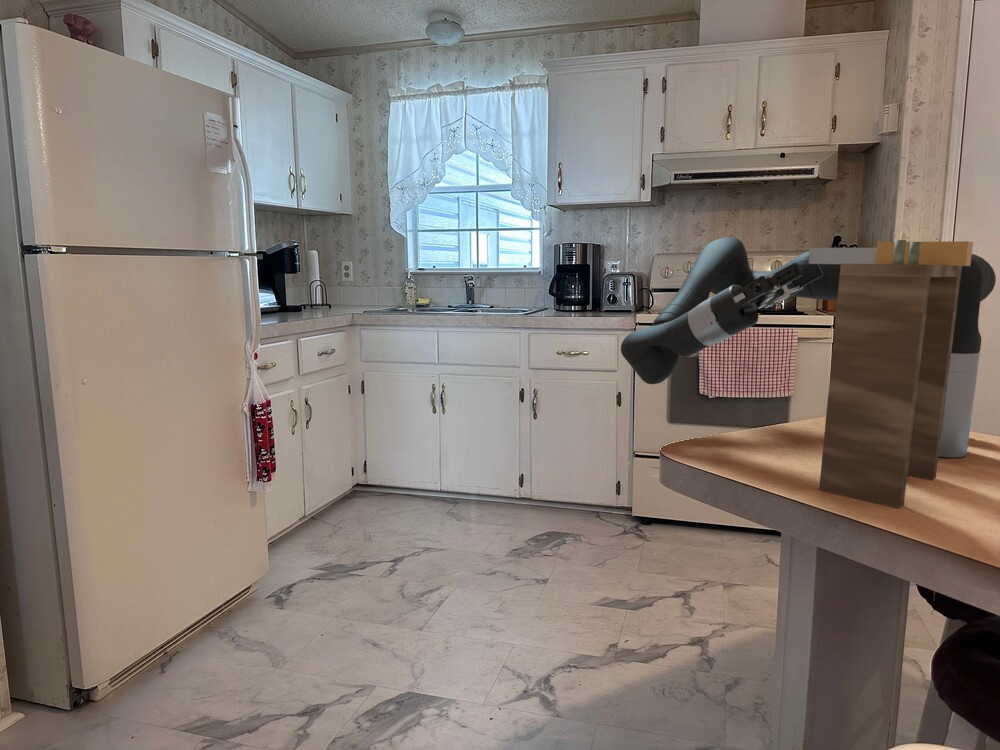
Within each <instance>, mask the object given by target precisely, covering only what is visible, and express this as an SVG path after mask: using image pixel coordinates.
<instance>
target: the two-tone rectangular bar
mask: <svg viewBox="0 0 1000 750" xmlns="http://www.w3.org/2000/svg"><path fill="white" fill-rule="evenodd" d="M910 242H911V241H906V246H905V255H904V264H908V258H909V249H910ZM920 242H921V245H920V254H919V262H918V265H948V266H970V264H971V256H972V254H973V246H974V242H972V241H963V240H962V241H960V240H959V241H953V240H952V241H920ZM876 244H877V245H876V247H810V248H809V251H810V255H809V264H893V255H894V246H895V241H877V243H876Z"/></svg>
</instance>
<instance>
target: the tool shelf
mask: <svg viewBox="0 0 1000 750" xmlns="http://www.w3.org/2000/svg"><path fill="white" fill-rule="evenodd" d="M894 242H895V246H894V255H893V264H841V266H840V277H839V287H838V298H837V300H836V308H835V318H834V319H835V320H834V330H833V342H832V351H831V352H832V353H831V362H830V372H829V382H828V393H827V395H828V396H827V403H826V404H827V406H826V415H825V426H824V436H823V445H822V455H821V456H822V457H821V466H820V467H821V468H820V476H819V478H820V479H819V485H818V486H819V487H818V489H819V490H818V491H820V492H821V491H822V492H825V493H830V494H834V495H839V496H843V497H847V498H851V499H855V500H858V501H865V502H868V503H872V504H877V505H882V506H886V507H890V508H895V509H900V510H901V508H902V507H903V506H904V505H905V499H906V498H905V497H906V489H907V482H908V481H907V480H908V477H914V478H918V479H922V480H928V481H934V480H935V479H936V477H937V471H938V463H939V457H940V456H939V448H940V440H941V432H942V424H943V416H944V408H945V399H946V391H947V383H948V375H949V367H950V359H951V351H952V343H953V335H954V327H955V319H956V310H957V302H958V294H959V286H960V278H961V270H962V266H948V265H918V262H919V254H920V245H921V242H922V241H909V242H910V249H909V258H908V264H904V255H905V246H906V242H907V240H906V239H895V240H894Z"/></svg>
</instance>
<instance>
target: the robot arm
mask: <svg viewBox="0 0 1000 750" xmlns="http://www.w3.org/2000/svg"><path fill="white" fill-rule="evenodd" d="M809 255H810V250H808V251H806V252H803V253H800V254H799V255H797V256H796V257H794V258H792V259H791V260H789V261H787V262H786V263H785V264H782V265H781V266H779V267H777V268H775V269H772V270H764V271H763V270H761V271H760V270H759V271H758V270H753V269H751V267H750V266H751V265H750V262H749V257H748V255H747V250H746V247H745V245H744V243H743V242H742V241H741V239H739V238H737V237H732V236H727V237H725V236H724V237H721V238H717V239H715V240H712V241H711V242H709V243H708V244H707V245H706V246H704V247H703V248H702V250H701V251H700V253H699V255H698V256H697V257H696V259H695V261H694V263H693V265H692V267H691V269H690V270H689V272H688V274H687V275H686V277H685V279H684V281H683V283H682V284H681V286H680V287H679V290H678V291H677V292H676V294H675V295H674V297H673V298H672V299H671V300H670V302H669V303H668V304H666V306H665V307H664V309H663V310H662V311H661V312H660V313H659V314H658V316H656V318H655V319H654V320H653V321H652V323H651V326H646V327H642V328H639V329H635V330H634V331H632V332H630V333H628V335H626V336H625V337H624V338H623V340H622V342H621V345H620V352H621V355H622V357H623V358H624V359H625V360H626V361H627V363H628V364H629V365H630V367H631V368H632V369H633V370H634V372H635V373H636V374H637V376H639V378H640V379H641V380H642V381H643V382H644V383H646V384H648V385H657V384H661V383H662V382H664V381H666V380H667V379H668V378H669V377H670V376H671V374H672V373H673V372H674V370H675V369H676V366H677V364H678V361H679V359H680V357H682V358H688V357H690V356H692V355H693V356H694V355H695V354H697V353H698V352H701V351H702V350H704V349H706V348H708V347H711V346H712V345H716V344H718V343H719V344H720V342H724V341H725V340H727V339H730V338H731V337H733V336H735V335H737V334H739V333H742V332H743V331H745V330H747V329H748V328H752V327H753V326H755V325H757V323H758V321H759V312H758V311H759V310H760V309H762V308H763V309H767V308H769V307H772V306H773V307H774V306H776V305H777V304H779V303H781V302H783V301H784V300H786V299H787V300H788V298H791V297H792V298H793V297H794V298H802V299H803V298H805V299H813V300H814V299H815V300H825V301H826V300H828V301H829V300H830V301H837V298H838V287H839V277H840V266H841V264H809ZM996 277H997V276H996V273H995V270H994V268H993V267H992V266H991V264H990V263H989V262H988V261H987V260H986V259H984V258H983V257H981V256H979V255H977V254H973V253H972V256H971V264H970V266H962V270H961V278H960V286H959V294H958V302H957V310H956V319H955V327H954V335H953V343H952V351H951V359H950V367H949V375H948V383H947V391H946V399H945V408H944V416H943V424H942V432H941V440H940V448H939V456H938V457H941V458H942V457H943V458H963V457H966V456H967V455H968V449H969V447H968V446H969V440H970V439H969V438H970V432H971V424H972V416H973V408H974V403H975V401H974V400H975V394H976V388H977V386H976V385H977V380H978V370H979V362H980V356H981V355H980V353H981V346H982V335H981V333H980V329H979V318H980V317H979V316H980V307H981V302H983V301H984V300H985V299H986V298H987V297H988V296H990V294H991V293H992V292H993V290H994V288H995V286H996V280H997V279H996ZM711 293H712V294H714V295H712V296H711V297H710V294H711Z"/></svg>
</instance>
